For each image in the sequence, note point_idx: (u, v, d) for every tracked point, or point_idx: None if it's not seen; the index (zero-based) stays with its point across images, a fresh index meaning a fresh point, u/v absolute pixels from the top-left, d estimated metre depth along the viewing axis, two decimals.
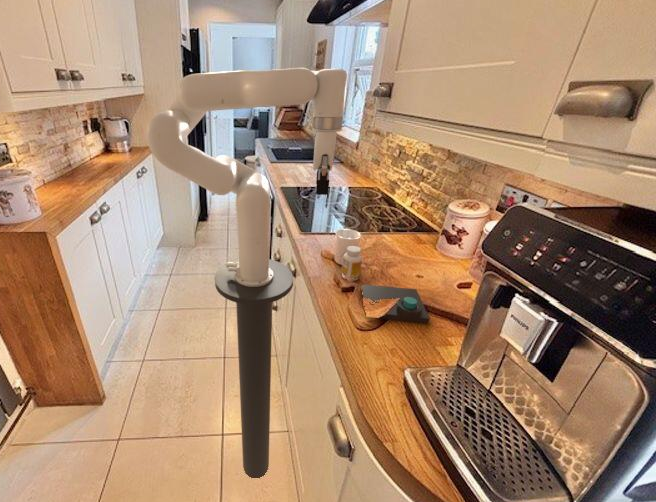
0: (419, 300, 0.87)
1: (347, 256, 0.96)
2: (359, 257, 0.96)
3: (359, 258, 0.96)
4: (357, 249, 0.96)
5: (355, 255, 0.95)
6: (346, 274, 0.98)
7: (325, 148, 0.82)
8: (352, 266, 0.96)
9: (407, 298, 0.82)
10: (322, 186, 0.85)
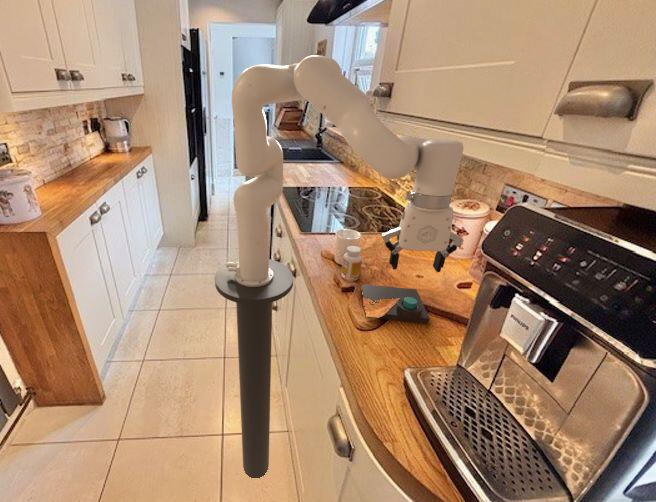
0: (419, 300, 0.87)
1: (347, 256, 0.96)
2: (359, 257, 0.96)
3: (359, 258, 0.96)
4: (357, 249, 0.96)
5: (355, 255, 0.95)
6: (346, 274, 0.98)
7: None
8: (352, 266, 0.96)
9: (407, 298, 0.82)
10: None
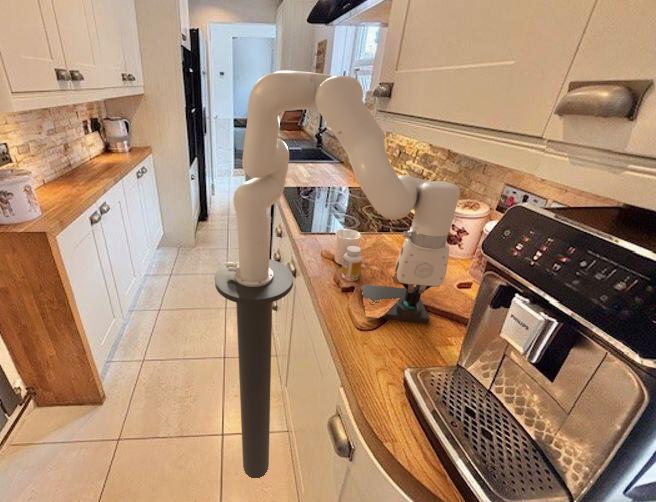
0: (419, 300, 0.87)
1: (347, 256, 0.96)
2: (359, 257, 0.96)
3: (359, 258, 0.96)
4: (357, 249, 0.96)
5: (355, 255, 0.95)
6: (346, 274, 0.98)
7: None
8: (352, 266, 0.96)
9: (406, 301, 0.83)
10: None
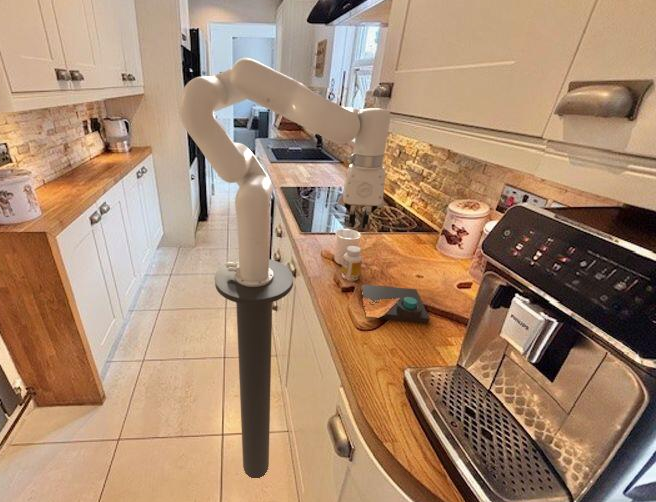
0: (419, 300, 0.87)
1: (347, 256, 0.96)
2: (359, 257, 0.96)
3: (359, 258, 0.96)
4: (357, 249, 0.96)
5: (355, 255, 0.95)
6: (346, 274, 0.98)
7: None
8: (352, 266, 0.96)
9: (407, 298, 0.82)
10: (367, 218, 0.91)
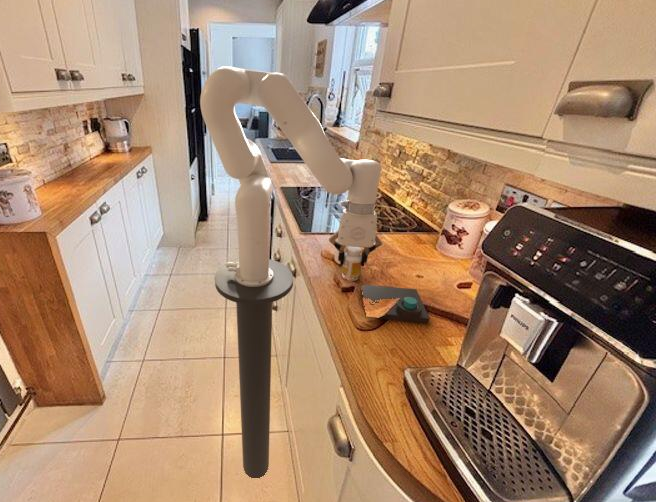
0: (419, 300, 0.87)
1: (347, 256, 0.96)
2: (359, 257, 0.96)
3: (359, 258, 0.96)
4: (357, 249, 0.96)
5: (355, 255, 0.95)
6: (346, 274, 0.98)
7: None
8: (352, 266, 0.96)
9: (407, 298, 0.82)
10: (366, 257, 0.97)
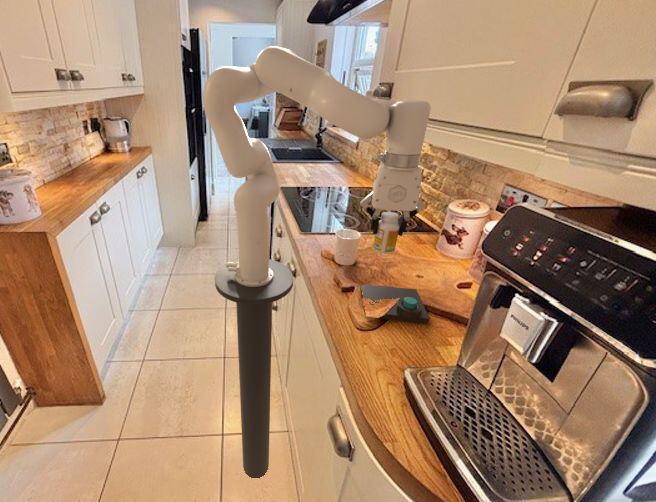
0: (419, 300, 0.87)
1: (382, 223, 0.80)
2: (397, 224, 0.80)
3: (397, 225, 0.79)
4: (394, 215, 0.80)
5: (392, 222, 0.79)
6: (380, 245, 0.82)
7: None
8: (388, 236, 0.80)
9: (407, 298, 0.82)
10: None
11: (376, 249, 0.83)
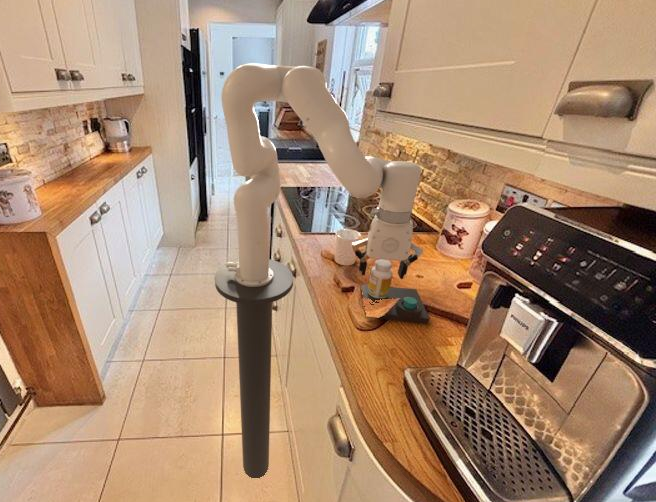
0: (419, 300, 0.87)
1: (376, 271, 0.85)
2: (390, 272, 0.85)
3: (390, 273, 0.85)
4: (387, 263, 0.85)
5: (385, 270, 0.84)
6: (374, 291, 0.87)
7: None
8: (382, 283, 0.85)
9: (407, 298, 0.82)
10: None
11: (370, 294, 0.88)
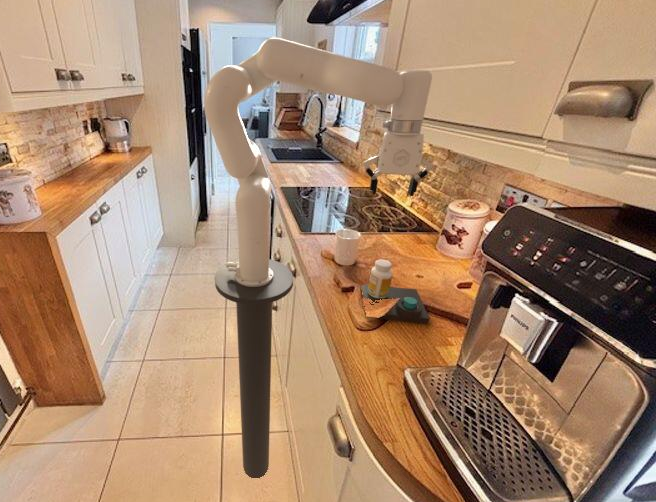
0: (419, 300, 0.87)
1: (376, 271, 0.85)
2: (390, 272, 0.85)
3: (390, 273, 0.85)
4: (387, 263, 0.85)
5: (385, 270, 0.84)
6: (374, 291, 0.87)
7: None
8: (382, 283, 0.85)
9: (407, 298, 0.82)
10: None
11: (370, 294, 0.88)
